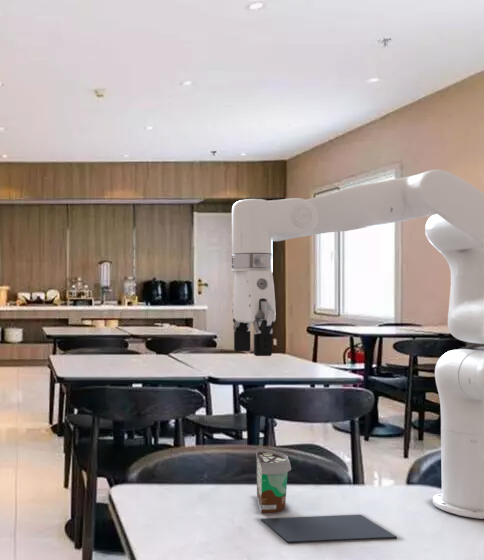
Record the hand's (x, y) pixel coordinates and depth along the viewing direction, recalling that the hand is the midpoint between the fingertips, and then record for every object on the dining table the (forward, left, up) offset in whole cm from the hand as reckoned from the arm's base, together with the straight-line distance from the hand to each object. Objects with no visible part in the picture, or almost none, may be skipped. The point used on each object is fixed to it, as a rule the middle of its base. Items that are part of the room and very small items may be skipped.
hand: (252, 353), depth 119 cm
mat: (-11, +7, -31) cm, 34 cm away
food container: (-7, -5, -31) cm, 33 cm away
